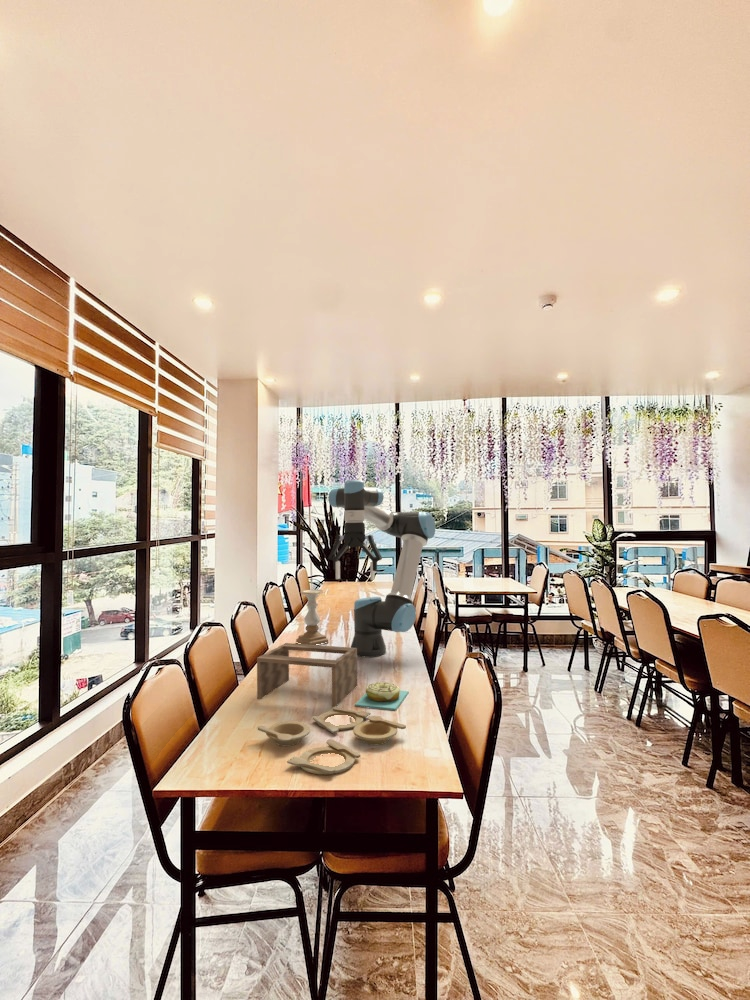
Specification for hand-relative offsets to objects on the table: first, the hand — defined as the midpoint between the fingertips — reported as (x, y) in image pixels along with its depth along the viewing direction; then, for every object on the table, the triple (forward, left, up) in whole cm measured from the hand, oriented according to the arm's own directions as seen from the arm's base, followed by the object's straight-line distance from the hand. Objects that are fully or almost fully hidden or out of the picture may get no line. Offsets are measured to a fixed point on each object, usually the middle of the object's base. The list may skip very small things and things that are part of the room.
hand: (355, 579), depth 193 cm
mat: (+23, +17, -35) cm, 45 cm away
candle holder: (-39, -35, -35) cm, 63 cm away
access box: (+23, -8, -35) cm, 42 cm away
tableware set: (+55, +13, -35) cm, 67 cm away
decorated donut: (+23, +17, -34) cm, 45 cm away
